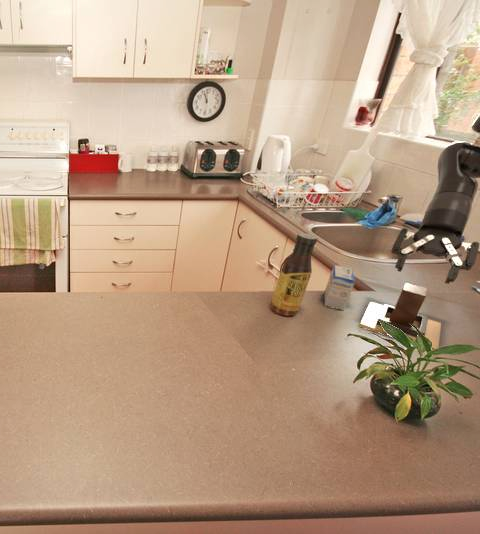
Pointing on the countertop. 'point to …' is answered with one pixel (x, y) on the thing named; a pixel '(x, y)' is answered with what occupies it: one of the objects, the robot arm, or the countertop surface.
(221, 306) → the countertop surface
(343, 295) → the medicine box
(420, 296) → the pad block
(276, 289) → the sauce bottle
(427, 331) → the back plate
